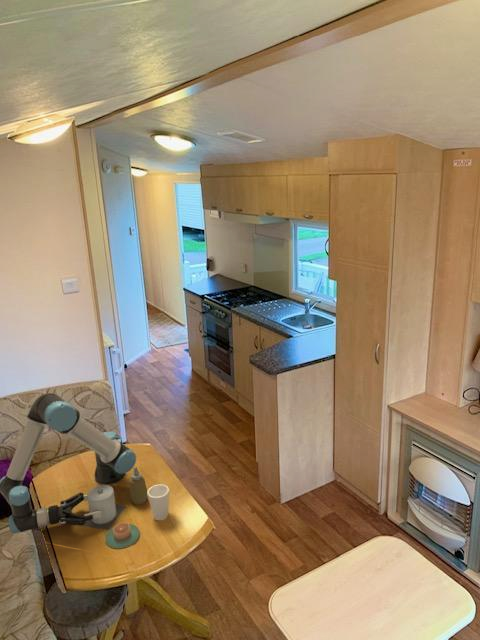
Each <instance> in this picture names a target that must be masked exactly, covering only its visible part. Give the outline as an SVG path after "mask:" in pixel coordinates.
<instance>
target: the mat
mask: <svg viewBox="0 0 480 640" xmlns="http://www.w3.org/2000/svg"><path fill="white" fill-rule="evenodd" d="M115 505H116V516H115V517H114V519H113V520H111V521H109V522H107V523H103V524H97V523H94V522H93V521H92V520H88V521H85V522H86V523H85V524H84V525H83V527H84V526H85V527H88V528H89V527H90V528H95V529H99V530H106V531H110V530H111V529H110V528H112V526H113V525H114V523H116V521H117V520H118V518H119V517H120V516H121V514H122V513H123V512H124V511H125V509H126V508H127V505H123V504H117V503H115Z"/></svg>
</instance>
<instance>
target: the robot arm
mask: <svg viewBox="0 0 480 640" xmlns="http://www.w3.org/2000/svg"><path fill="white" fill-rule="evenodd" d="M26 419H27V423H26V425H25V427H24V430H23V432H22V435H21V437H20V440H19V442H18V445H17V447H16V449H15V452H14V454H13V457H12V460H11V462H10V465H9V467H8V469H7V472H6V475H5V476H3V477H2V478H0V494H1V495H2V496H3V498H4V499H5V500H6V502H7V503H8V505H9V506H10V508H11V512H12V514H11V515H10V516H9V517H8V529H9V533H11V534H17V533H18V534H19V533H23V532H28V531H30V530H34V529H39V528H43V527H48V526H49V525H50V526H52V525H57V524H59V523H60V526H66V525H68V526H79V527H80V526H83V525H84V524H85V523H86V522H85V521H88V520H92V519H95V518H99V517H101V511H96V512H92V513H90V512H88V513H84V515H82V514H79V513H74V512H73V509H74V508H76V506H78V505H79V504H80V503H82V502H88V496H87V494H88V493H87V494H84V493H83V492H79V493H77V494H74V495H73V496H70V497H68V498H66V499H65V500H61V501H60V502H59V503H60V506H58V504H55V505H51V506H49V507H45V506H44V507H41V508H38V509H34V510H33V507H32V502H31V495H30V491H29V488H28V487H27V486H25V485H23V482H24V479H25V476H26V474H27V472H28V469H29V467H30V465H31V463H32V461H33V460H32V459H33V457H34V454H35V453H36V449H37V447H38V445H39V442H40V440H41V437H42V435H43V432H44V429H45V428H46V426H47V427H48V428H50V429H52V430H55V431H57V432H58V433H60V434H61V435H66V434H68V435H69V436H70V437H72V438H74V439H75V440H77V441H78V442H80V444H82V445H83V446H86V447H87V448H88V449H89V450H91V451H92V452H94V455H95V461H96V465H95V471H94V479H95V482H96V483H98V484H99V485H112V484H115V483H118V482H119V481H122V480H123V479H124V477H126V473H129V472H130V471H131V470H132V469H134V468H135V467H134V466H135V465H136V462H137V455H136V452H135V451H134V450H133V449H131V448H130V447H128V446H127V445H126V444H124V443H123V442H121V441H119V435H118V433H117V432H115V431H111V430H110V431H105V432H102V431H101V430H99V429H97V428H96V427H95V426H93V425H92V424H91V423H90V422H88V421H87V420H86V419H84V418H82V417H81V412H80V411H79V410H78V409H77V408H75V407H74V406H73V405H72V404H71V403H69V402H67V401H66V400H64V399H63V398H61V396H60V395H58V394H56V393H52V392H47V393H43V394H41V395H40V396H38V397H37V398H36V399H35V400H34V402H33V403H32V405H31V407H30V409H29V411H28V413H27V416H26ZM83 527H84V526H83Z"/></svg>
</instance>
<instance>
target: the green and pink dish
mask: <svg viewBox="0 0 480 640" xmlns="http://www.w3.org/2000/svg"><path fill="white" fill-rule="evenodd" d="M140 533H141V532H140V529H139V527H138V526H136V525H135V524H131V523H129V522H125V521H123V522H122V521H121V522H119V523H117V524H115V525H114V526H113V527H111V529H109V530H108V531H107V533H106V534H105V537H104V538H105V544H106V546H108V547H109V548H112V549H115V550H118V549H119V550H121V549H125V548H129V547H131V546H132V545H134V544H136V543H137V542H138V541H139V539H140Z"/></svg>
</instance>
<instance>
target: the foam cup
mask: <svg viewBox="0 0 480 640" xmlns="http://www.w3.org/2000/svg"><path fill="white" fill-rule="evenodd" d="M147 500H148V502H149V505H150V510H151V512H152V517H153V519H154V520H155V521H157V520H158V521H157V522H159V520H162V521H164V519H165V520H166V519H167V518H168V516H169V505H170V503H169V502H170V501H169V500H170V488H169V487H168V486H167V485H166V484H163V483H160V484H155V485H151V487H150V488H148V489H147Z"/></svg>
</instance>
